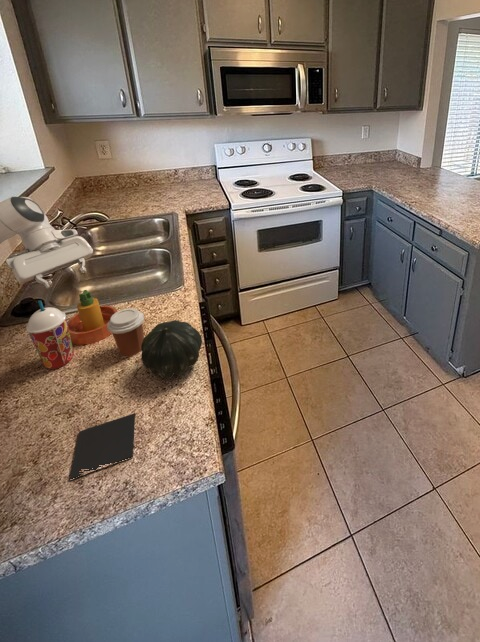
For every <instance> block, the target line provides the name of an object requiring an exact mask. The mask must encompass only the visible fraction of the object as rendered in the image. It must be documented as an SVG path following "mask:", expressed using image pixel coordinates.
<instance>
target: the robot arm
mask: <svg viewBox="0 0 480 642" xmlns="http://www.w3.org/2000/svg"><path fill="white" fill-rule="evenodd" d="M78 233H79V232H78V231H77V230H76V229H75V228H71V229H70V228H69V229H55V227H54V226H52V225H51V223H50V221H49V218H48V216H47V215H46V213H45V212H44V211H43V209H42V208H41V207H40V205H39V204H38V203H37V202H36V201H34V200H33V199H32V198H30V197H27V196H11V197H9V198H6V199H4V200H2V201H0V244H2V243H3V242H5V241H7V240H8V239H11V238H12V237H15V236H16V235H18V236H19V237H20V240H21V243H22V244H23V246H24V248H25V249H24V250H20V251H18V252H16V253H15V252H14V253H12V254H11V253H10V255H9V256H8V257H6V259H5V264H6V265H7V267H8V268H10V269H12V272H13V274H14V277H15V278H16V281H17V283H20V284H26V283H28V282H30V281H33V280H35V282H36V283H39V284H40V285H42V286H43V285H44V288H45V289H46V290H48V289H51V288H53V287H54V284H53V282H52V280H51V279H49V280H46V279H45V278H43V277H44V276H46V275H49V274H52V273H54V272H57V271H59V270H61V269H64V268H65V269H66V268H67V267H69V266H73V265H74V264H78V265H80V267H79V268H78V272H79V275H82V276H83V275H85V274H86V273H87V272H88V271H87V268H86V267H85V265H86V260H88V259H90V258H91V257H92V256H93V254H94V249H93V247H92V246H91V245H90V243H89V242H88V241H87V240H86V239H85V238H84V237H83V236H81V235H78Z"/></svg>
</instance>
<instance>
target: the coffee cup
mask: <svg viewBox="0 0 480 642" xmlns="http://www.w3.org/2000/svg"><path fill="white" fill-rule="evenodd" d="M144 321H145V315H144V313H143V312H142V311H141V310H138V309H137V308H134V307H127V308H123V309H120V310H117V312H116V313H115V314H113V315H112V317H111V318H110V321H109V322H108V324H107V329H108V331H109V332H111V333H112V334H111V335H112V337H113V340H114V342H115V345H116V347H117V349H118V352H119V355H121V357H124V358H129V357H133V356H136V355H138V354H140V353H142V350H141V345H142V342H143V340H144V338H145V334H144V327H143V326H144V325H143V322H144Z"/></svg>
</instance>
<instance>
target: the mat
mask: <svg viewBox="0 0 480 642" xmlns="http://www.w3.org/2000/svg"><path fill="white" fill-rule="evenodd" d="M135 423H136V413H134V412H133V413H131V414H128V415H125V416H122V417H118V418H115V419H113V420H110V421H107V422H103V423H101V424H97V425H94V426H91V427H88V428H85V429H83V430H79V431H78V436H77V440H76V445H75V449H74V450H75V451H74V455H73V459H72V463H71V469H70V474H69V479H68V480H69V481H70V479H73V478H76V477H78V476H80V475H81V474H79V473H83V472H79V471H81V469H89V470H84V471H90V470H96V469H97V468H98V467H101V466H99V465H105V464H110V463H115V462H119V461H122V460H125V459H128V458H131V457H133V458H134V444H135V442H134V441H135V426H136V425H135ZM131 459H132V458H131ZM128 460H129V459H128ZM125 461H126V460H125ZM92 468H93V469H92Z"/></svg>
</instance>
